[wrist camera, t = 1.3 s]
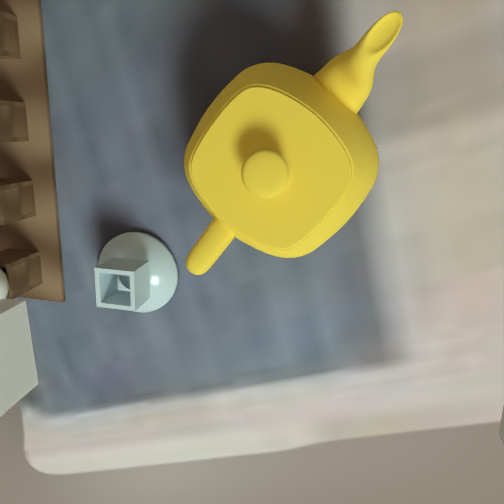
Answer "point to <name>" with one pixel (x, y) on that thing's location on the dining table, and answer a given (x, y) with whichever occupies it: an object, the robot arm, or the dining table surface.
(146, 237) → the egg cup
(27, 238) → the egg rack
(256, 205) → the teapot
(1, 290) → the white egg
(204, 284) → the dining table surface
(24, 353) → the robot arm
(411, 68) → the dining table surface
